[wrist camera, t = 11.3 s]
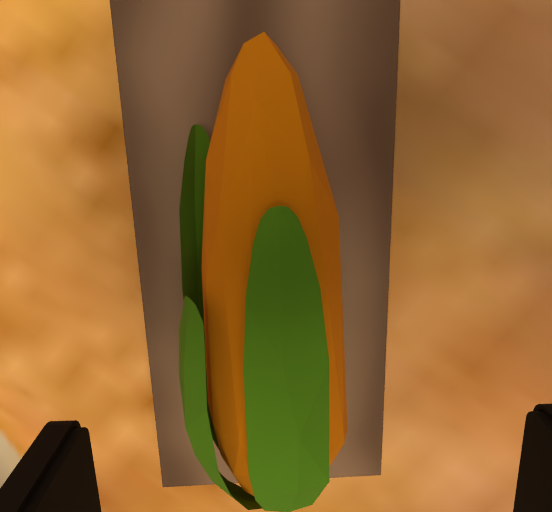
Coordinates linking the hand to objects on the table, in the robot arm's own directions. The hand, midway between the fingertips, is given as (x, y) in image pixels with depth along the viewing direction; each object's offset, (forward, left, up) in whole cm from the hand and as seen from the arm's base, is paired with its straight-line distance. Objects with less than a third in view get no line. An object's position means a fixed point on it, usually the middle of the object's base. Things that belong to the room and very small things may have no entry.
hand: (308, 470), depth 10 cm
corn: (+1, 0, -14) cm, 14 cm away
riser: (+1, 0, -18) cm, 18 cm away
